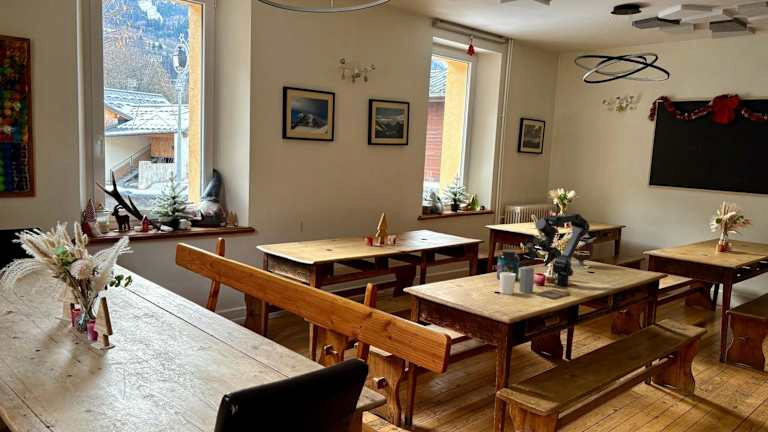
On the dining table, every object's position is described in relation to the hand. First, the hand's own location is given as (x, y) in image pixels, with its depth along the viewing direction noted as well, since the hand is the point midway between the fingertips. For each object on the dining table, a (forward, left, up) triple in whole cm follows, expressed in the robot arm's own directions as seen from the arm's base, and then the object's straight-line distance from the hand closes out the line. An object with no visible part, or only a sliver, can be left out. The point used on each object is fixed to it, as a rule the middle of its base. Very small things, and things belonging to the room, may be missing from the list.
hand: (537, 264), depth 292 cm
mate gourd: (-85, -21, -14) cm, 89 cm away
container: (-10, -25, -14) cm, 31 cm away
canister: (+7, -1, -14) cm, 15 cm away
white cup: (+18, -5, -14) cm, 23 cm away
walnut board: (+1, +11, -14) cm, 17 cm away
